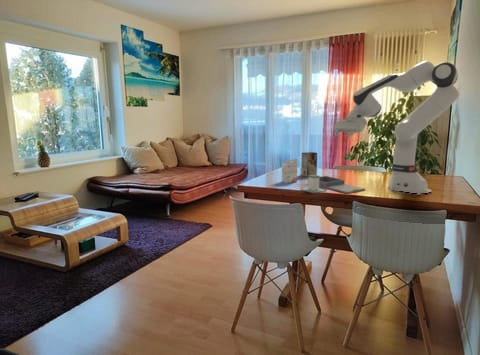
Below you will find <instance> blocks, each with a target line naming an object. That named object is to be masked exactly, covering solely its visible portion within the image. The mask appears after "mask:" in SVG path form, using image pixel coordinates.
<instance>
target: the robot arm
mask: <svg viewBox="0 0 480 355" xmlns="http://www.w3.org/2000/svg"><path fill="white" fill-rule="evenodd" d="M458 72H459V71H458V70H457V67H456V66H455V65H454V64H453V63H451V62H447V61H445V62H440V63H438V64H437V65H436V66H435V64H433V63H432V62H430V61H428V60H425V61H421V62H420V63H417V64H416V65H414V66H412V67H411V68H409V69H407V71H404V72H402V73H398V74H397V73H392V74H389V75H386V76H385V77H383V78H381V79H379V80H377V81H375V82H373V83H371V84H369V85H367V86H365V87H362V88H360V89H357V91H355V92H354V94H353V98H352V100H353V103H354V104H355V105H354V106H353V107H352V110H350V111H349V113H348V114H347V115H346V117H345V118H342V119H339V120H337V122H336V123H335V124H334V125H333V126H332V129H333V131H335V133H334V136H335V137H339V133H347V134H346V137H347V138H351V137H352V136H353V135H354V134H356V133H357V134H359V133H362V132H363V131H364V129H365V128H366V125H368V122H367V119H366V118H375V117H377V116H378V115H380V113H381V110H382V105H381V103H380V102H379V101H378V100H377V98H375V96H374V95H373V93H376V92H378V91H380V90H382V89H383V88H386V87H387V88H388V87H389V88H393V89H395V90H396V91H397V90H398V91H399V92H402V93H411V92H413V91H415V90H417V89H418V88H420V87H421V86H422V85H425V83H428V82H431V83H432V84H434V85H436V89H435V91H433V93H431V94H430V95H429V96H428V97H427V98H426V99H425V100H423V102H422V103H420V104H419V105H418V106H417V107H416V108H415V109H413V110H412V111H411V112H410V113H409V114H407V115H406V116H405V117H404V118H403V119H402V120H401V121H400V122H399V123H396V124H397V125H395V128H394V135H395V136H396V137H395V144H394V150H393V161H392V162H393V163H392V164H391V177H390V180H389V183H388V186H387V187H388V189H389V190H390V191H393V190H394V191H395V192H399V191H404V192H403V193H405V192H410V193H409V194H411V193H417V194H416V195H421V194H420V193H428V192H431V193H432V189H429V188H428V181H427V180H426V179H425V178H424V177H422V175H421V174H420V173H419V172H418V170H419V169H420V167H419V166H416V165H415V164H416V152H417V144H418V136H419V134H420V133H421V132H422V131H423V130H424V129H426V128H427V126H428V127H429V125H430V124H431V123H433V122H434V121H435V120H436V119H437V118H439V117H440V116H441V115H442V114H443V113H445V111H447V110H448V109H449V108H450V107H451V106H452V105H453V104H454V102H455V101H456V100H457V99H458V97H459V94H460V93H459V91H458V89H457V88H456V87H455V86H454V85H455V84H456V82H458V81H457V80H458ZM394 191H393V192H394ZM428 194H429V193H428Z"/></svg>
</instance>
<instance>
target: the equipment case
mask: <svg viewBox="0 0 480 355" xmlns="http://www.w3.org/2000/svg"><path fill="white" fill-rule="evenodd" d="M308 180H309V177H307V181H308ZM319 188H321V189H325V190H331V191H334V190H335V192H338V191H339V192H338V193H341V194H352V193H353V192H354V193H358V191H359V192H364V190H365V191H366V188H364V187H359V186H355V185H350V184H346V183H345V179H342V178H337V177H333V176H328V175H324V176H320V177H319ZM354 193H353V194H354Z"/></svg>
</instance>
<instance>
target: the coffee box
mask: <svg viewBox="0 0 480 355" xmlns="http://www.w3.org/2000/svg"><path fill="white" fill-rule="evenodd" d="M300 166H301V169H300V170H301V172H300V173H301V174H300V176H303V177H309V175H318V174H317V172H318V152H316V151H315V152H314V151H313V152H312V151H307V152H306V151H305V152H301V164H300Z"/></svg>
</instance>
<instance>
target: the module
mask: <svg viewBox="0 0 480 355" xmlns="http://www.w3.org/2000/svg"><path fill="white" fill-rule="evenodd" d="M319 177H321V176H320V175H318V174H317V175H309V176H308V178H309V180H308V179H307V184H308V186H307V188H308V189H310V190H313V191H315V190H319V188H320V187H319Z"/></svg>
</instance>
